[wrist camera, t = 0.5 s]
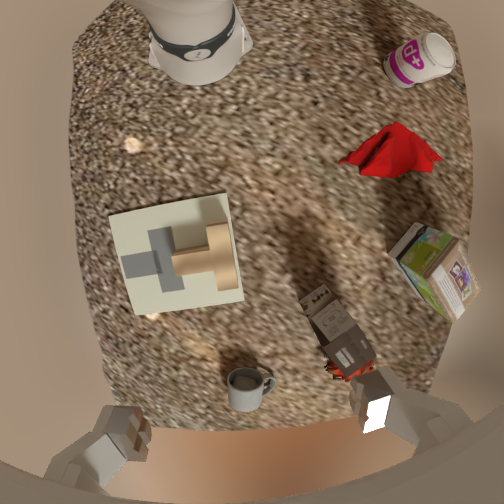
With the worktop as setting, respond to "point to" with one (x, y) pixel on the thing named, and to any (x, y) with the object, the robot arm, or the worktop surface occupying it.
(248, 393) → the ceramic mug
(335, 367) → the dragon fruit
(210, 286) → the sage board
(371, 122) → the worktop surface
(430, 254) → the tea box
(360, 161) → the cloth
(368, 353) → the coffee box
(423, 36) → the supplement can
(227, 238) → the maple T block
